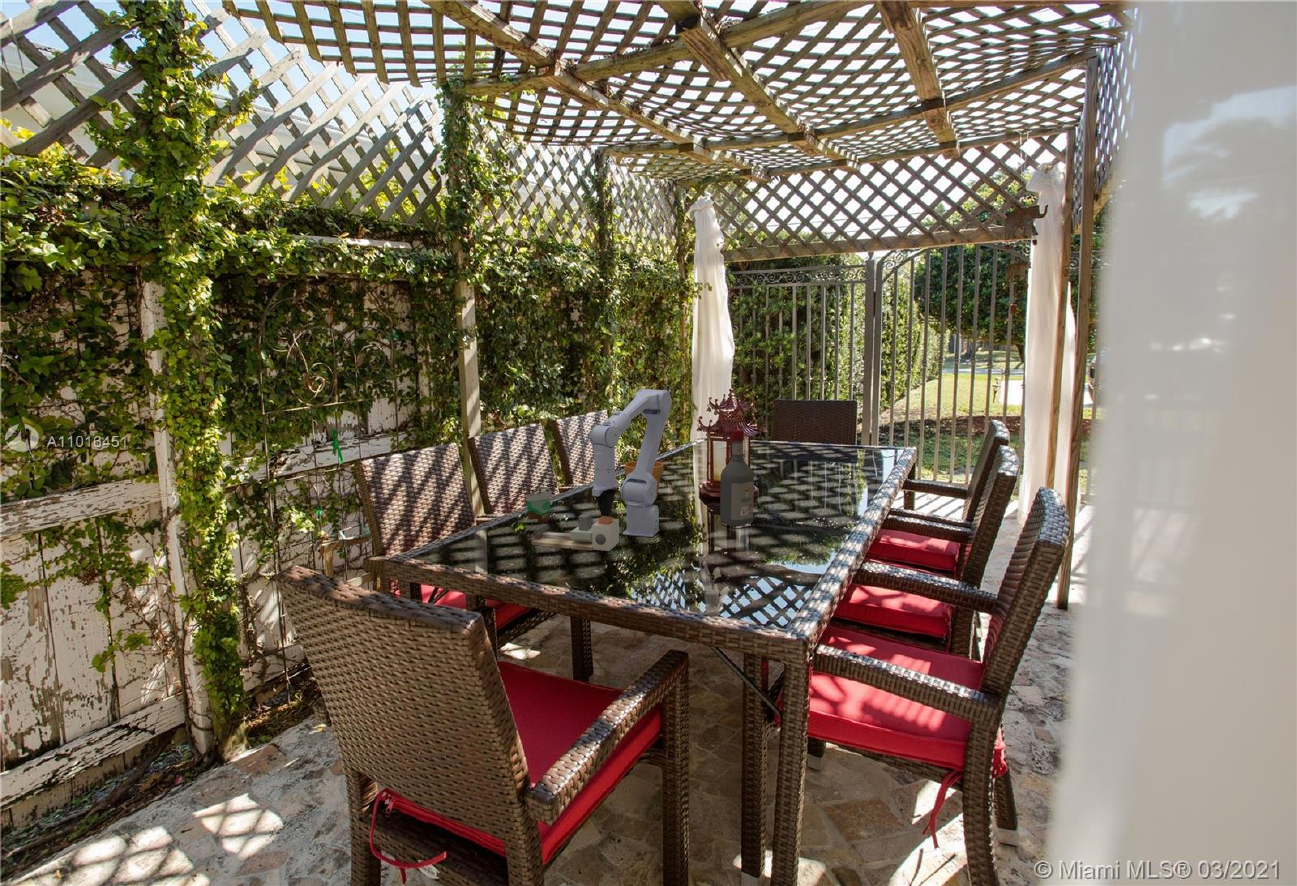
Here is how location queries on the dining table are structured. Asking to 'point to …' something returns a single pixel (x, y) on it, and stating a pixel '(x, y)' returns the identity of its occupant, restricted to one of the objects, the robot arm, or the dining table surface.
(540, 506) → the food container
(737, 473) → the liquor
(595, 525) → the end cabinet
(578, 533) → the carriage
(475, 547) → the dining table surface
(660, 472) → the flower pot
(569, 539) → the rail bed
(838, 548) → the dining table surface
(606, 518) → the button
